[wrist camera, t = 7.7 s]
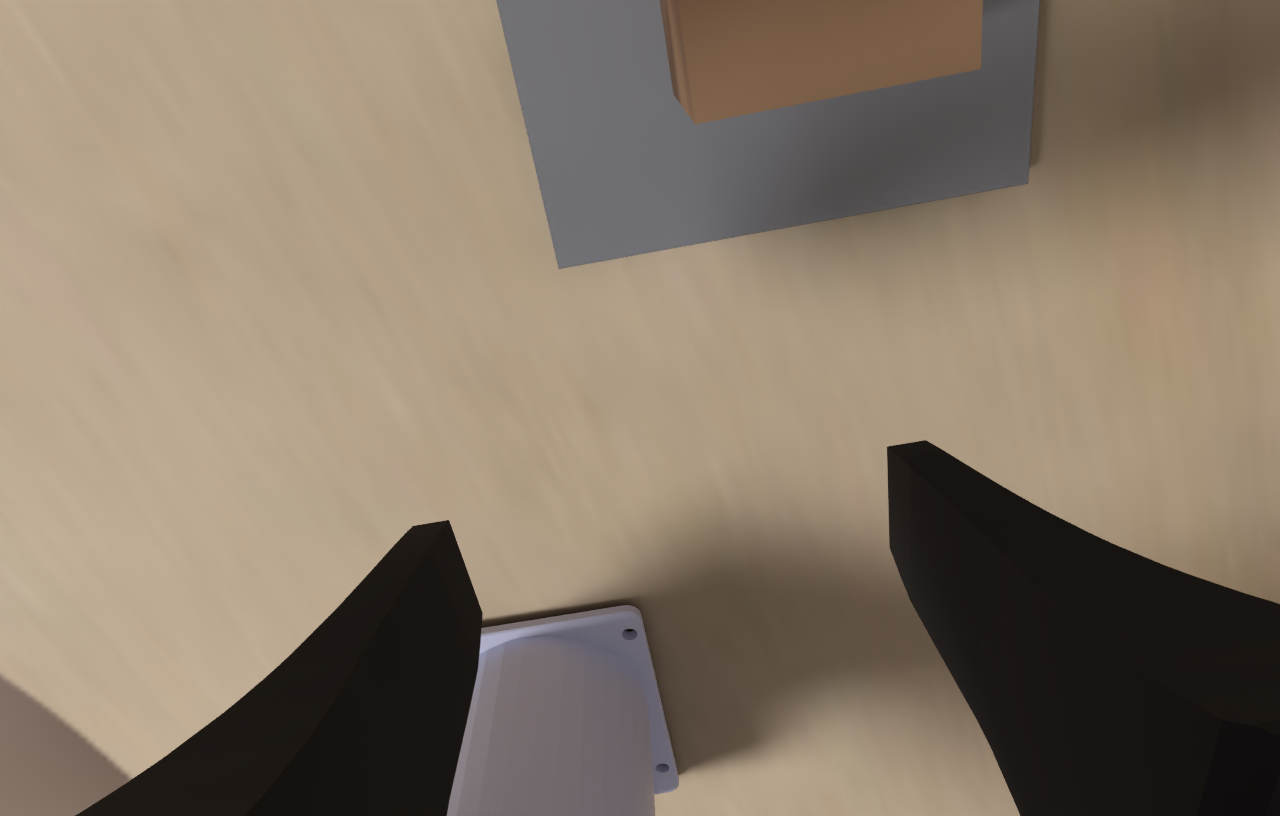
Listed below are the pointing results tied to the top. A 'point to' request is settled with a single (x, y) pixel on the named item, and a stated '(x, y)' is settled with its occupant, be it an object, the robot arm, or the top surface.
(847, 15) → the walnut cube
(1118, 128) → the top surface
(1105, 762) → the robot arm
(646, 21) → the coaster
